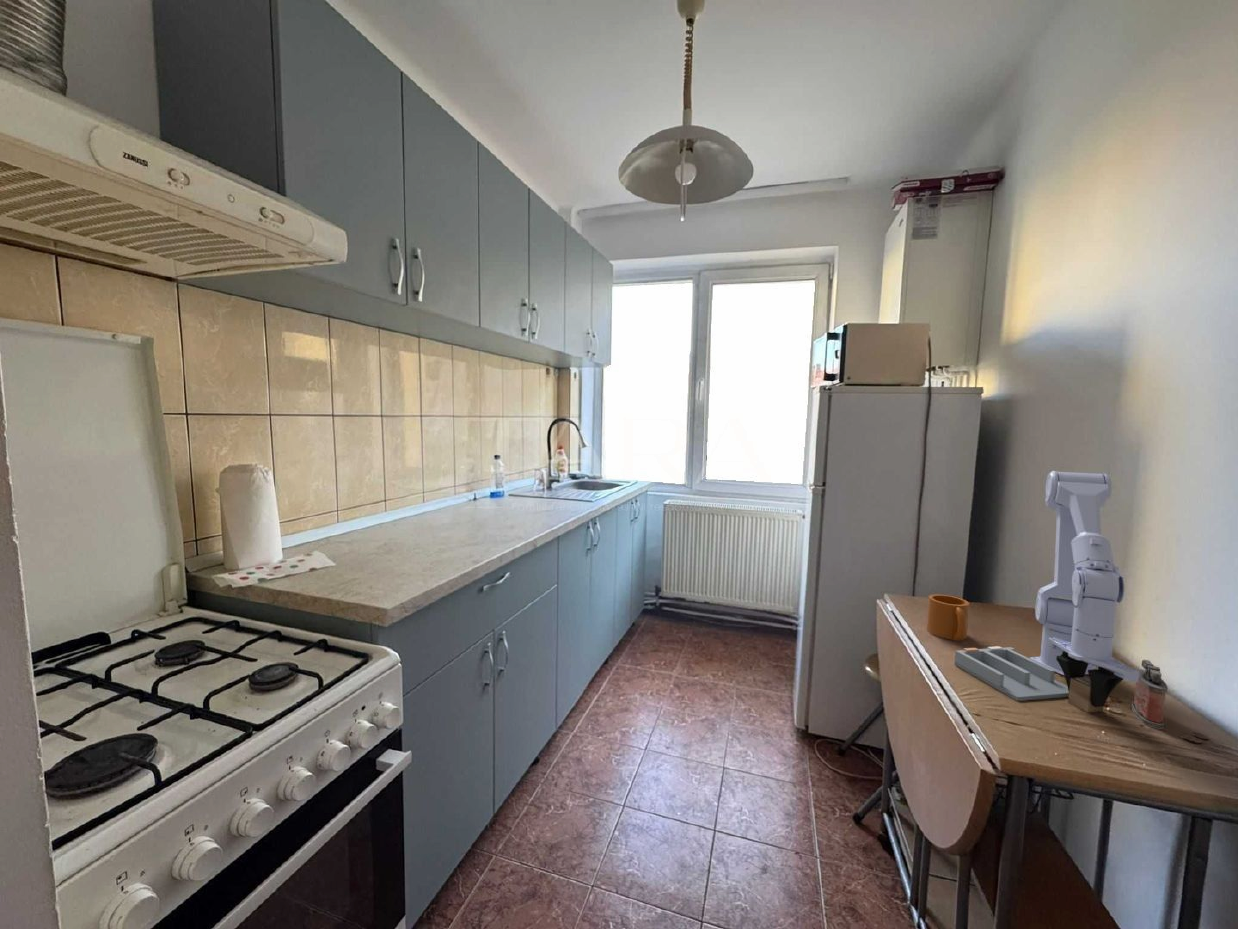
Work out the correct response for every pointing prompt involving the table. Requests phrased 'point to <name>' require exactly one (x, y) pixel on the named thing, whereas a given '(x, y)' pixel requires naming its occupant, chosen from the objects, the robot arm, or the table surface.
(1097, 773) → the table surface
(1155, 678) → the lighter
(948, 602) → the mug
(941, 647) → the table surface
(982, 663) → the socket board
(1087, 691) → the plug
